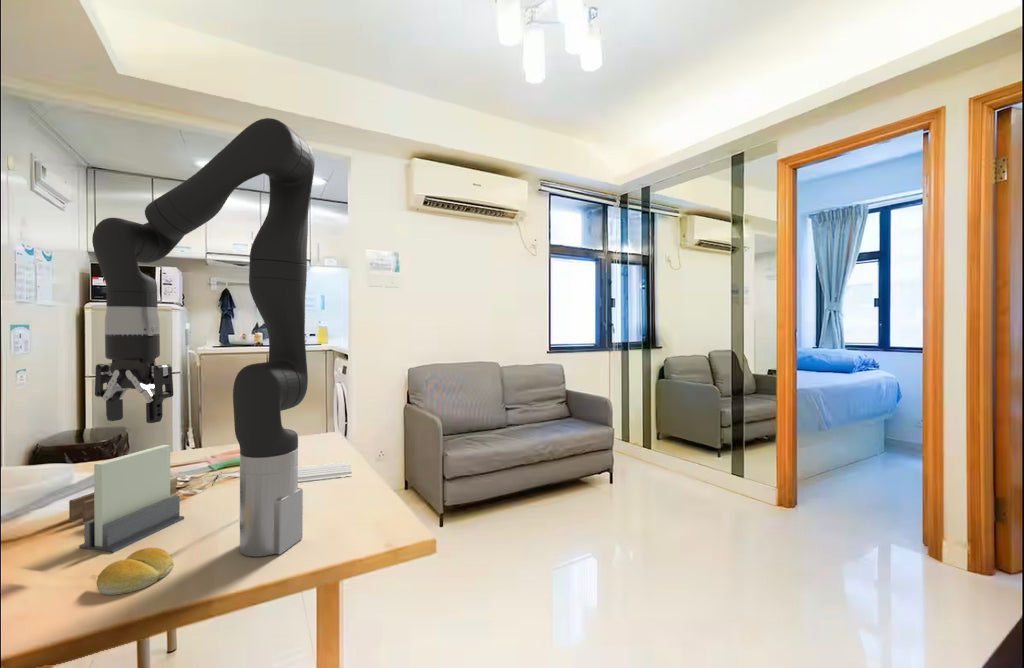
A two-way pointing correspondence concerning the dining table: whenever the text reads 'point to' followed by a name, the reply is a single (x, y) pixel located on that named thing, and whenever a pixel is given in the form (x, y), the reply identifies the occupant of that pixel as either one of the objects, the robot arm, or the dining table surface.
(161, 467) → the sage panel
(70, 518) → the walnut rack
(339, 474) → the baseboard molding
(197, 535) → the dining table surface
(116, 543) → the grey stand
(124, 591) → the bread roll
